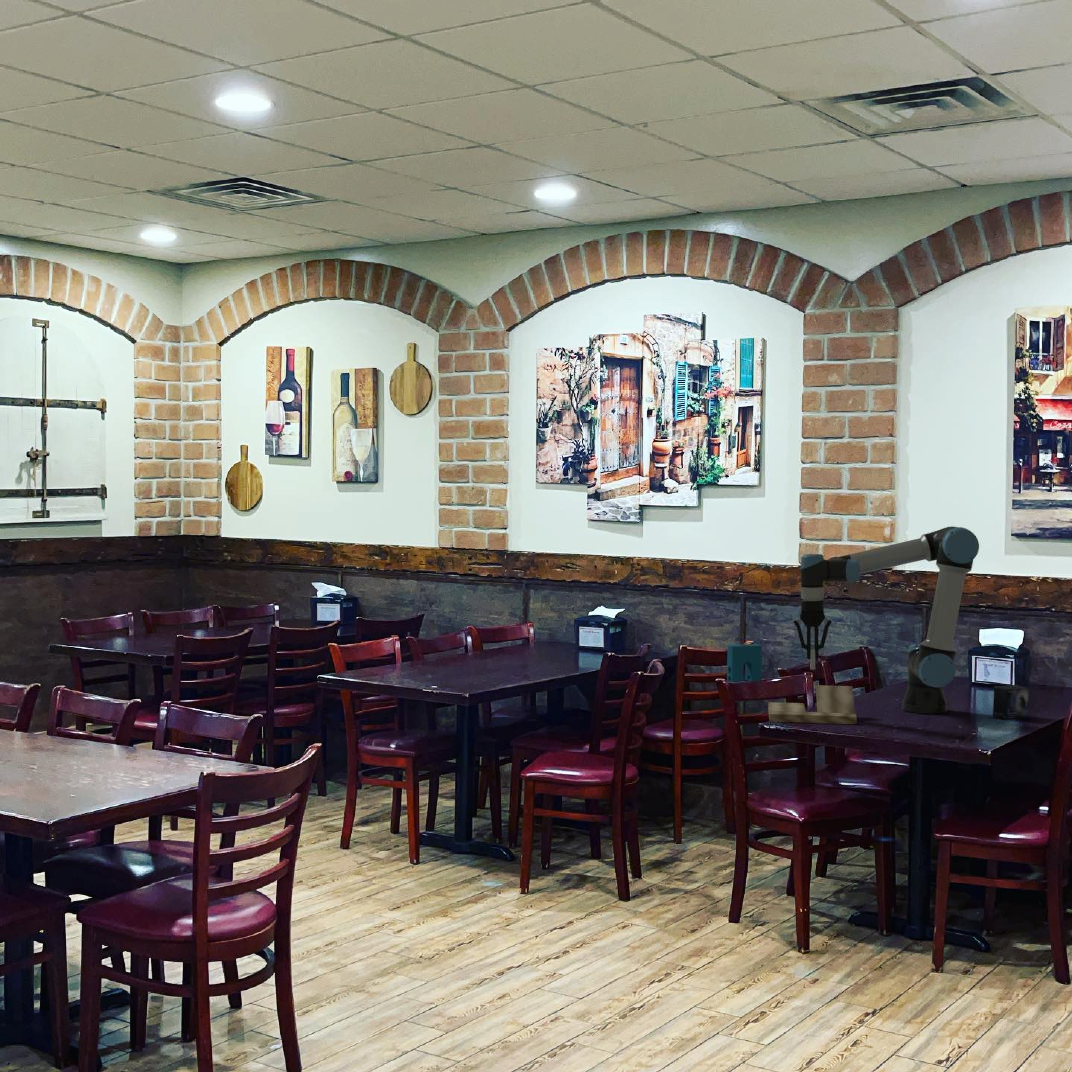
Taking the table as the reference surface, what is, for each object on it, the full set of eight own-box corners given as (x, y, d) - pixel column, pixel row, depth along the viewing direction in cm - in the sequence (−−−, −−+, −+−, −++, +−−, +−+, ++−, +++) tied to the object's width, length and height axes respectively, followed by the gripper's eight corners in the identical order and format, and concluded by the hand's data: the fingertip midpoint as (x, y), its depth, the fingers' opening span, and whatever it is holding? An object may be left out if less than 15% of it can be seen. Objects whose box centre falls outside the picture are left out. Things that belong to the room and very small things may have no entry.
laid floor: (854, 721, 450) (855, 713, 450) (856, 724, 444) (856, 716, 444) (769, 718, 454) (769, 710, 454) (769, 721, 448) (769, 713, 448)
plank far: (803, 710, 465) (803, 703, 465) (805, 719, 452) (805, 711, 452) (768, 709, 467) (768, 702, 467) (769, 718, 454) (769, 710, 454)
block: (755, 698, 495) (755, 643, 494) (762, 700, 490) (762, 645, 490) (725, 700, 491) (726, 645, 490) (732, 702, 486) (733, 646, 486)
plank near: (852, 691, 462) (852, 686, 460) (854, 718, 451) (854, 713, 450) (816, 690, 463) (816, 685, 462) (817, 717, 453) (818, 712, 452)
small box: (1006, 720, 454) (1007, 689, 454) (991, 717, 460) (992, 686, 459) (1029, 717, 459) (1030, 687, 458) (1014, 714, 465) (1015, 684, 464)
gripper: (831, 598, 463) (831, 667, 464) (792, 598, 465) (792, 667, 466) (832, 600, 455) (833, 670, 456) (793, 600, 457) (793, 670, 458)
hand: (812, 668), depth 461 cm, fingers closed
